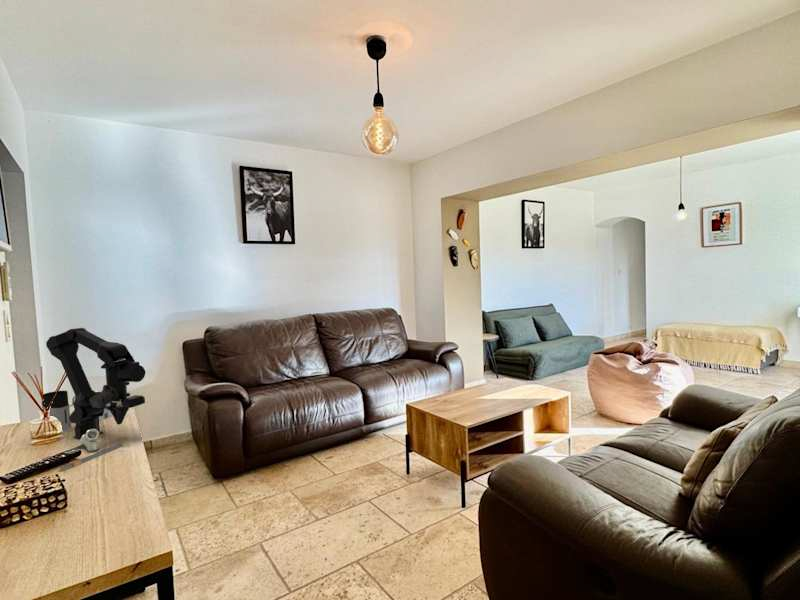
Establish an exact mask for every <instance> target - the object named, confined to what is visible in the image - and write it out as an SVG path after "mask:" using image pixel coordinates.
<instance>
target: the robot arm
mask: <svg viewBox="0 0 800 600" xmlns="http://www.w3.org/2000/svg"><path fill="white" fill-rule="evenodd" d="M79 344H80V345H81V346H83V347H84V348H87V349H89V350H91V351H92V352H94V353H95V354H96V356H97V358H98V359H99V360H100V361H102V362H103V364H102V365H101V366H100V369H104V370H105V381H106V382H105V383H106V384H104V385H103V386H102V389H103V391H101V392H95V390H93V388H92V387H91V384H90V382H89V379H88V378H87V376H86V373H85V371H84V369H83V366H82V364H81V362H80V360H79V358H78V357H79V356H78V352H79ZM45 346H46V348H47V349H48V351H49V353H50V355H51V356H52V357H54V358H56V359H57V360H59V361H60V362H61V363H60V364H61V366H62V368H63V370H64V372H65V374H66V375H65V376H66V377H67V379H68V381H69V382H68V383H69V384H70V386H71V388H72V392H73V393H74V396H76V397H75V398H74V404H73V409H74V410H73V411H72V412H71V413H70V417H69V419H70V422H71V424H75V426H74V435H75V436H73V439H78V440H79V439H81V437H82V436H83V435H85V434H86V432H87V431H88V430H91V429H96V430H98V431H99V432H100V433H99V435H101V434H104V431H102V430H101V428H100V426H101V425H100V421H99V417H100V416H103V413H104V409H105V408H106V409H108V410H110V412H111V413H112V415H113V416H112V417H113V419H114V421H115V422H116V424H117V425H122V424H123V421H124V420H125V417H126V416H127V413H128V411H129V409H131V408H134V407H137V406H140V405H143V404H146V399H145V396H144V395H141V394H140V395H138V394H134V395H132V396H131V393H130V392H128V390H127V389H128V388H127V386H129V385H130V383H139V382H141V381H142V380H143V379H144V378H145V376H146V370H145V368H144V366H143V365H140V362H139V361H135V358H134V356H133V355H132V354H131V352H130V351H129V349H128V347H127V346H126V345H125V344H123V343H119V342H113V341H107V340H105V339H104V338H101V337H99V336H97V335H96V334H93V333H92V332H90V331H88V330H87V328H84V327H77V328H70V329H69V330H66V331H64V332H61V333H59V334H56V335H53V336H50V337H49V338H48V339H47V341H46V343H45ZM88 437H89V436H88ZM89 438H91V437H89Z"/></svg>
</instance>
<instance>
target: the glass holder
mask: <svg viewBox="0 0 800 600" xmlns="http://www.w3.org/2000/svg"><path fill="white" fill-rule="evenodd" d="M56 391H58V392H57V394H56V396H55V398H54V399H53V397H54V395H55V393H56ZM56 391H50V392H46V393H43V394H42V395H43V399H44V403H45V404H43V401H42V400H41V409H42V408H44V407H45V408H47V407H48V406H49V404H50V402H51V401H52V399H53V403H52V404H51V408H50V412H49V413H50V416H54V417H56V418H57V419H58V420H59V421H60V422H61V425H62V430H63V434H65V433H68V432H71V431H72V430H73V427H72V423H71V422H70V419H69V417H70V415H71V412H70V410H71V409H70V407H72V406H73V404H74V400H75V397H76V396H75V395H74V396H73V397H72V401H71V403H72V404H71V405H70V404H69V393H68V390H56ZM73 407H74V406H73Z"/></svg>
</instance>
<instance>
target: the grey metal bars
mask: <svg viewBox="0 0 800 600" xmlns="http://www.w3.org/2000/svg"><path fill="white" fill-rule="evenodd" d="M123 446H124V443H123V442H119V443H117V444H114V445H112V446H109V447H107V448H104V449H101V450H100V451H97V452H95V453H92V454H91V455H88V456H85V457H83V458H81V459H75V460H72V461H69V464H67V465H65V466H62V467H59V472H65V471H67V470H70V469H72V468H76V467H77V466H80V465H82V464H83V463H87V462H89V461H91V460H93V459H96V458H99V457H100V456H102V455H105V454H108V453H110V452H113V451H115V450H117V449H119V448H122V447H123ZM85 448H86V446H84V445H82V444H80V445H77V446H76V447H73V448H70V449H67V450H65V451H63V452H69V451H72V450H76V449H80V450H82V449H85ZM63 452H61V453H63ZM58 454H59V453H57V454H55V455H52V456H51V455H47V456H45V457H43V458H41V460H39V461H36V462H35V463H32V464H31V465H33V464H36V463H39V462H41V461H44V460H47V459H49V458H51V457H53V456H56V455H58Z"/></svg>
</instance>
